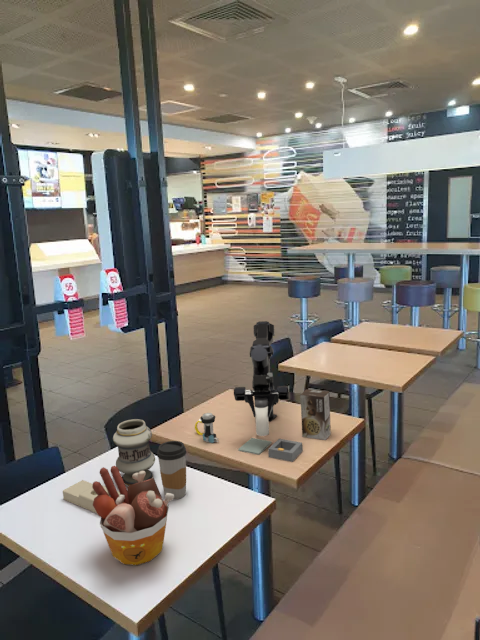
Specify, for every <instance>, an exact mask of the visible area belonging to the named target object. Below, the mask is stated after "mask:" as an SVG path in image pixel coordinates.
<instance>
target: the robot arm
mask: <svg viewBox="0 0 480 640" xmlns="http://www.w3.org/2000/svg"><path fill="white" fill-rule="evenodd" d="M275 333H276V332H275V325H274V324H272V323H270V321H268V320H265V321H263V320H262V321H259V320H258V321H256V323H255V324H254V325H253V337H255V340H253V341H252V346H250V348H249V357H250V358H251V363H252V366H253V369H252V371H253V372H252V382H251V383H252V389H246V387H245V386H235V387H234V388H233V396H234V400H235V401H236V402H238V401H241V402H242V401H244V402H245V403H247V404H248V405H249V407H250V409H251V410H250V411H251V413H252V415H253V417H254V418H255V399H256V398H267V399H268V419H269V422H272V421H273V420H274V419H275V418H277V416H278V414H275V413H274V406H276V405H277V404H279V400H280V401H283V400H284V401H286V400H289V399H290V395H289V390H290V389H289V387H288V386H287V385H277V386H276V389H275V386H274V374H273V372H271V370H270V369H271V366H270V365H271V364H270V363H271V361H270V360H271V357H273V356H274V348H273V346H272V343H273V342H274V337H275V336H276V335H275Z"/></svg>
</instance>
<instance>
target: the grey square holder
mask: <svg viewBox="0 0 480 640" xmlns="http://www.w3.org/2000/svg"><path fill="white" fill-rule="evenodd" d="M303 447H304V446H303V442H302V441H296V440H295V441H294V440H290V439H284V438H278V439H277V440H276V441H274V443H272V444H271V446H269V447H267V448H268V449H267V453H268V458H269V459H276V460H280V461H287V462H291V463H293V462H295V460H296V459H297V457H299V456H300V455H301V454H302V452H303V449H304V448H303Z"/></svg>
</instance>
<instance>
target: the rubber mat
mask: <svg viewBox="0 0 480 640" xmlns="http://www.w3.org/2000/svg"><path fill="white" fill-rule="evenodd" d="M272 444H273V442H272V441H271V440H268V439H267V440H266V439H261V438H260V439H259V438H254V437H251V438H250V439H248V441H246V442H245V443H244V444H242V445H241V446H240V447H238V448H237V451H238V452H242V453H247V454H248V453H249V454H254V455H259V456H260V455H261V454H262V453H263V452H264V451H265V450H266V449H267V448H269V447H270V445H272Z"/></svg>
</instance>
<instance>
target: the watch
mask: <svg viewBox="0 0 480 640" xmlns="http://www.w3.org/2000/svg"><path fill="white" fill-rule="evenodd" d="M198 423H201V424H203V423H202V421H201V419H200V418H199V419H198V420H197V421H196V422H195V425H194V430H195V432H196V434H198V436H199V435H201V436H203V433H204V432H201V431H200V430H199V429H198Z"/></svg>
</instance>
